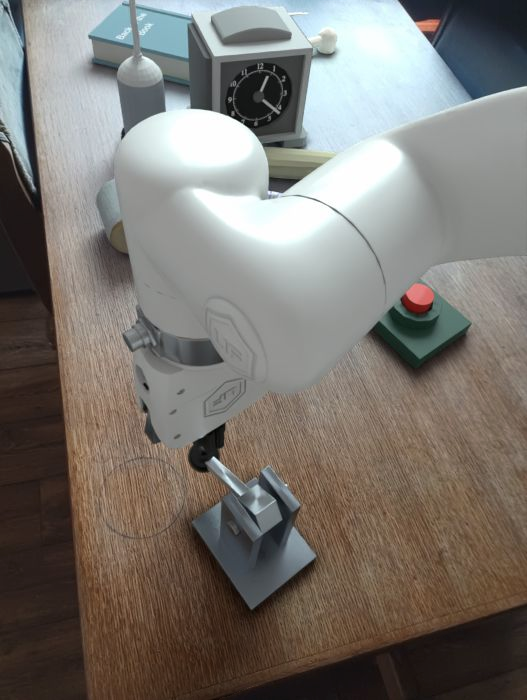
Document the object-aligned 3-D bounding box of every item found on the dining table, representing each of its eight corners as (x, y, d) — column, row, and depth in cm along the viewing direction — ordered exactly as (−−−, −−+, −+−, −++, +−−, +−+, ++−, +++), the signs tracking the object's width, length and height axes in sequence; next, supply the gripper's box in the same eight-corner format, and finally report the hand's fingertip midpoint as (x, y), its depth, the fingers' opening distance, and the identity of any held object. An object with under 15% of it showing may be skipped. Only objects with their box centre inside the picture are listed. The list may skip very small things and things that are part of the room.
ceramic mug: (113, 263, 74) (105, 220, 68) (100, 223, 78) (91, 179, 72) (188, 247, 77) (187, 204, 71) (171, 210, 81) (169, 166, 75)
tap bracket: (191, 525, 55) (186, 481, 45) (254, 480, 58) (263, 431, 48) (250, 612, 51) (259, 584, 41) (315, 559, 54) (337, 522, 44)
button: (435, 305, 69) (440, 297, 68) (416, 318, 68) (420, 309, 67) (415, 288, 71) (419, 279, 69) (395, 300, 69) (399, 290, 68)
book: (92, 62, 103) (88, 34, 99) (129, 25, 112) (126, -1, 108) (205, 89, 101) (204, 62, 97) (233, 49, 110) (233, 23, 106)
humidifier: (172, 133, 92) (160, -37, 72) (173, 163, 88) (161, -9, 67) (123, 133, 91) (97, -39, 71) (121, 164, 86) (93, -11, 66)
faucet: (328, 75, 116) (349, 26, 109) (264, 64, 105) (283, 9, 99) (317, 66, 118) (337, 17, 111) (253, 55, 107) (271, 0, 100)
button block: (465, 333, 72) (477, 314, 69) (414, 369, 68) (424, 351, 65) (401, 277, 77) (409, 256, 74) (349, 307, 73) (356, 287, 70)
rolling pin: (405, 179, 90) (414, 153, 86) (408, 201, 87) (418, 175, 82) (211, 159, 89) (211, 132, 85) (207, 181, 86) (207, 154, 82)
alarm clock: (203, 159, 89) (201, 43, 74) (184, 114, 96) (179, 0, 81) (308, 145, 93) (326, 33, 78) (282, 102, 100) (294, -8, 85)
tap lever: (188, 469, 55) (178, 446, 54) (214, 452, 56) (204, 429, 55) (258, 542, 45) (248, 515, 44) (288, 519, 46) (279, 493, 45)
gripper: (125, 411, 30) (157, 519, 45) (324, 297, 36) (295, 426, 51) (65, 325, 34) (114, 452, 49) (257, 233, 40) (248, 372, 54)
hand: (207, 438), depth 50 cm, fingers closed
